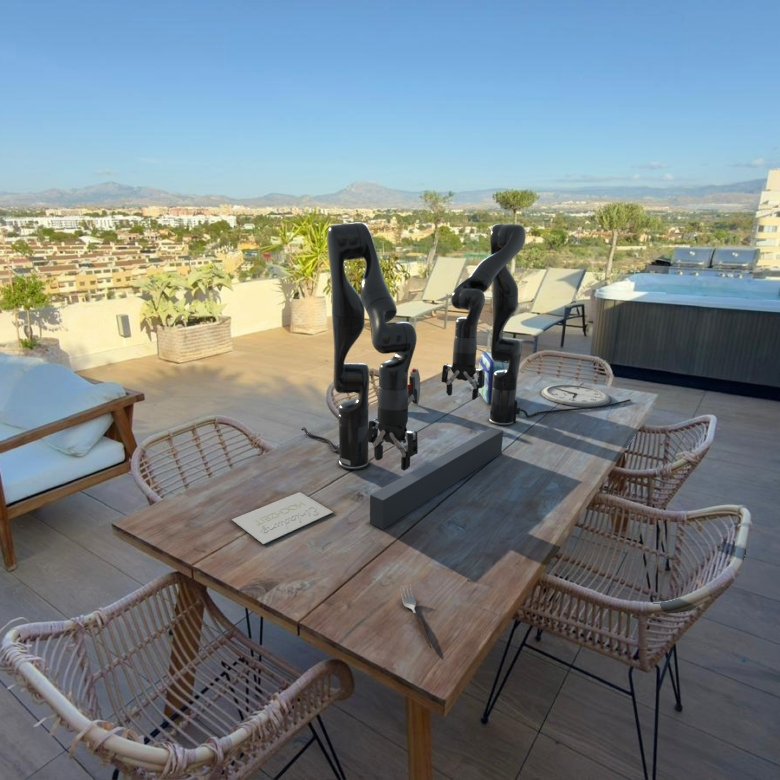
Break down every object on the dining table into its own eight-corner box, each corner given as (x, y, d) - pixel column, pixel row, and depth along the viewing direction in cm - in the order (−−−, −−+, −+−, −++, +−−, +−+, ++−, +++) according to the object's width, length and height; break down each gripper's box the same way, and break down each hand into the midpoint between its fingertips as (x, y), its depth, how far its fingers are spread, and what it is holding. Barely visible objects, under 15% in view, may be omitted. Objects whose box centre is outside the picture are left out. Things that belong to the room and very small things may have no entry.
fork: (423, 651, 94) (424, 642, 93) (398, 593, 109) (398, 585, 108) (437, 648, 95) (437, 639, 94) (410, 591, 109) (411, 583, 109)
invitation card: (299, 491, 149) (333, 511, 139) (299, 492, 149) (333, 512, 139) (231, 519, 134) (263, 543, 124) (231, 520, 134) (263, 544, 124)
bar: (490, 449, 180) (491, 427, 178) (501, 453, 178) (503, 430, 175) (369, 523, 134) (369, 494, 132) (382, 529, 132) (383, 500, 129)
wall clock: (623, 402, 226) (556, 403, 224) (623, 406, 227) (556, 407, 224) (592, 383, 255) (532, 383, 252) (591, 386, 255) (532, 386, 253)
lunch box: (475, 390, 246) (478, 346, 240) (498, 390, 246) (501, 347, 240) (484, 408, 221) (487, 360, 215) (509, 409, 221) (513, 360, 215)
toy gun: (394, 376, 210) (415, 366, 221) (395, 413, 216) (416, 402, 227) (399, 377, 209) (420, 367, 220) (400, 414, 215) (420, 403, 226)
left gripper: (361, 401, 129) (361, 460, 134) (406, 414, 121) (404, 477, 126) (380, 394, 135) (380, 452, 140) (425, 406, 126) (423, 467, 131)
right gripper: (440, 349, 170) (437, 396, 175) (482, 354, 164) (478, 403, 169) (448, 345, 176) (446, 391, 181) (489, 350, 170) (485, 397, 175)
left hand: (391, 464), depth 133 cm, fingers open, 8 cm apart
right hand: (461, 397), depth 175 cm, fingers open, 8 cm apart
